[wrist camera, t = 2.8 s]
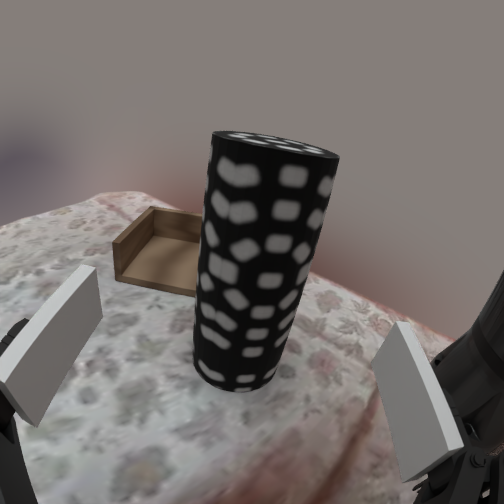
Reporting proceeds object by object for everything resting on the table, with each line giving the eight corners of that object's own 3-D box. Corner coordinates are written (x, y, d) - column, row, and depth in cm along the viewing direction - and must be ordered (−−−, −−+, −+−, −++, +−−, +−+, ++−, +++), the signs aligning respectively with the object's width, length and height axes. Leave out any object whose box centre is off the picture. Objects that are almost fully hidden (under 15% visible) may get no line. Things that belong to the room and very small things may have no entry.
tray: (227, 250, 46) (231, 218, 43) (213, 300, 34) (217, 261, 32) (149, 237, 46) (150, 206, 43) (115, 280, 34) (112, 242, 32)
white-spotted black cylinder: (265, 328, 32) (310, 143, 22) (286, 388, 24) (364, 167, 15) (190, 328, 29) (208, 127, 20) (195, 393, 22) (218, 142, 13)
